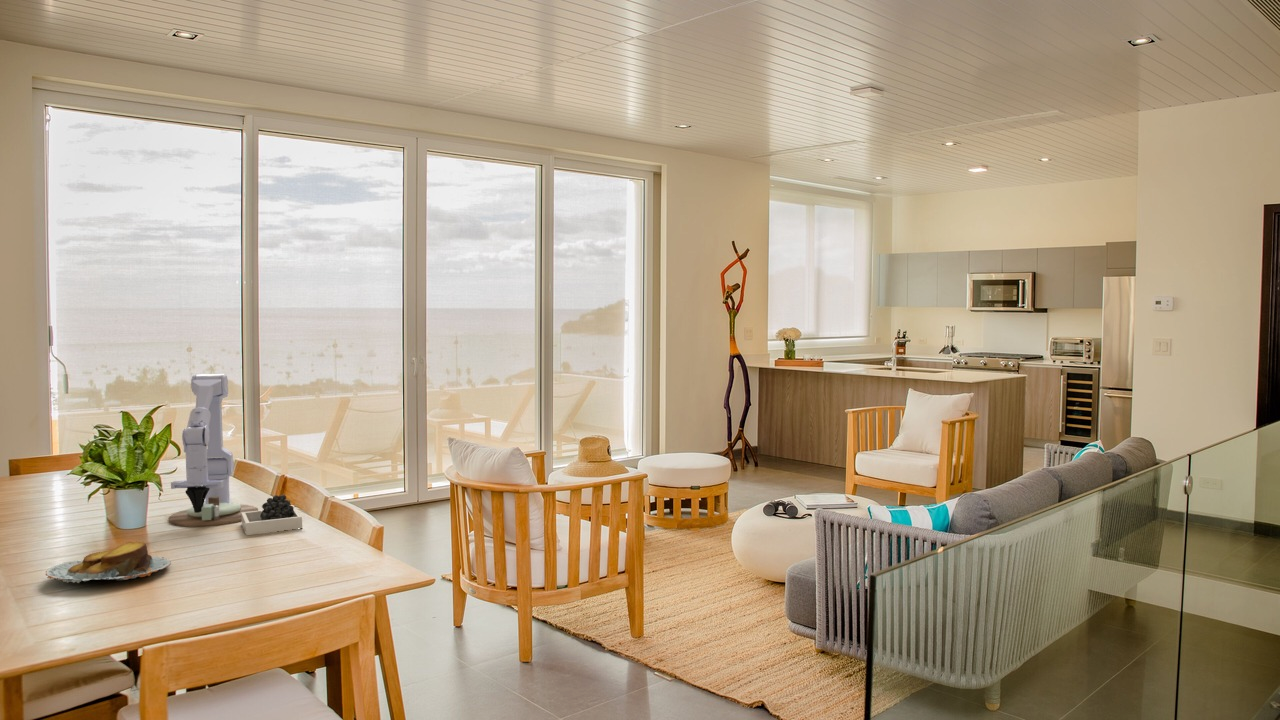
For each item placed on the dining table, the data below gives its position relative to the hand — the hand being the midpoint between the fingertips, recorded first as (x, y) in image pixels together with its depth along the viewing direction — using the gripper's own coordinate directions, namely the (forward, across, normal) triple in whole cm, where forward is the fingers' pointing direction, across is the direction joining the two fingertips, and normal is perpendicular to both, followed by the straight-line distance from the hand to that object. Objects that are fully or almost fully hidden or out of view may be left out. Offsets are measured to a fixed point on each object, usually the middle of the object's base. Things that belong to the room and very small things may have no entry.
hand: (198, 511), depth 262 cm
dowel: (+4, +5, +1) cm, 6 cm away
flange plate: (+2, +1, +7) cm, 8 cm away
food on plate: (+4, +1, -50) cm, 50 cm away
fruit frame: (+4, +23, -4) cm, 23 cm away
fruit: (+4, +23, -4) cm, 24 cm away
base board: (+4, +1, +9) cm, 10 cm away
